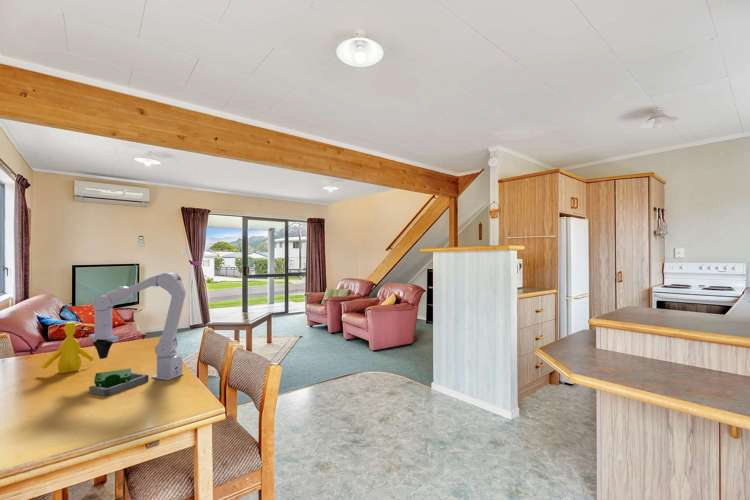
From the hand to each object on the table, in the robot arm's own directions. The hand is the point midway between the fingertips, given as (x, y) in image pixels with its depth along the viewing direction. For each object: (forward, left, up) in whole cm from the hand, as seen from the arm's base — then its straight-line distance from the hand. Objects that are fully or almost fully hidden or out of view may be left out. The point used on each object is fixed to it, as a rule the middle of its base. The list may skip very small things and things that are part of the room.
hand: (103, 358), depth 142 cm
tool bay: (-13, +2, -9) cm, 16 cm away
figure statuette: (+26, -3, -10) cm, 28 cm away
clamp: (-10, +3, -10) cm, 14 cm away
